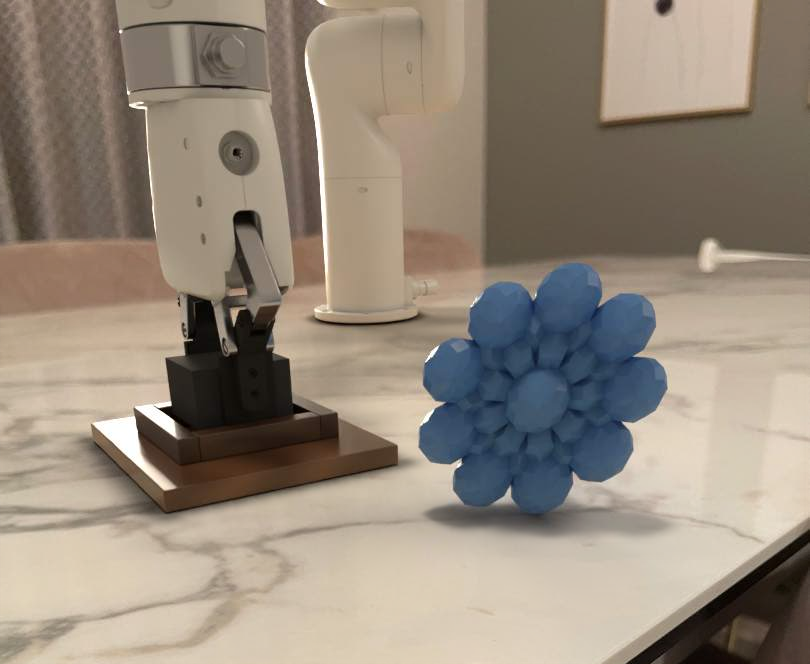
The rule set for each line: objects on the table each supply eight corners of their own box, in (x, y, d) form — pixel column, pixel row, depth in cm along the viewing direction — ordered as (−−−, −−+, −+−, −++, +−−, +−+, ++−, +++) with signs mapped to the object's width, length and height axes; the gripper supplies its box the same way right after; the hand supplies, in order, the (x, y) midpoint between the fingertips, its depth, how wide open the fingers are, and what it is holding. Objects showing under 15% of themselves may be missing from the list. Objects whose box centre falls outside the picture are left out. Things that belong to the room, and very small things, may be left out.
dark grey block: (261, 400, 55) (257, 346, 54) (294, 416, 51) (289, 358, 50) (172, 413, 53) (164, 357, 51) (198, 432, 49) (191, 371, 47)
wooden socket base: (286, 409, 63) (283, 372, 62) (398, 464, 50) (397, 419, 49) (93, 440, 56) (86, 400, 55) (166, 513, 43) (159, 463, 42)
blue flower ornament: (643, 487, 45) (666, 253, 41) (660, 536, 39) (689, 267, 35) (428, 481, 47) (426, 255, 42) (412, 527, 41) (407, 268, 36)
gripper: (335, 59, 40) (352, 432, 47) (211, 92, 53) (239, 379, 60) (180, 50, 36) (224, 456, 43) (88, 88, 50) (134, 393, 57)
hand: (232, 408), depth 52 cm, fingers closed on dark grey block, 5 cm apart
